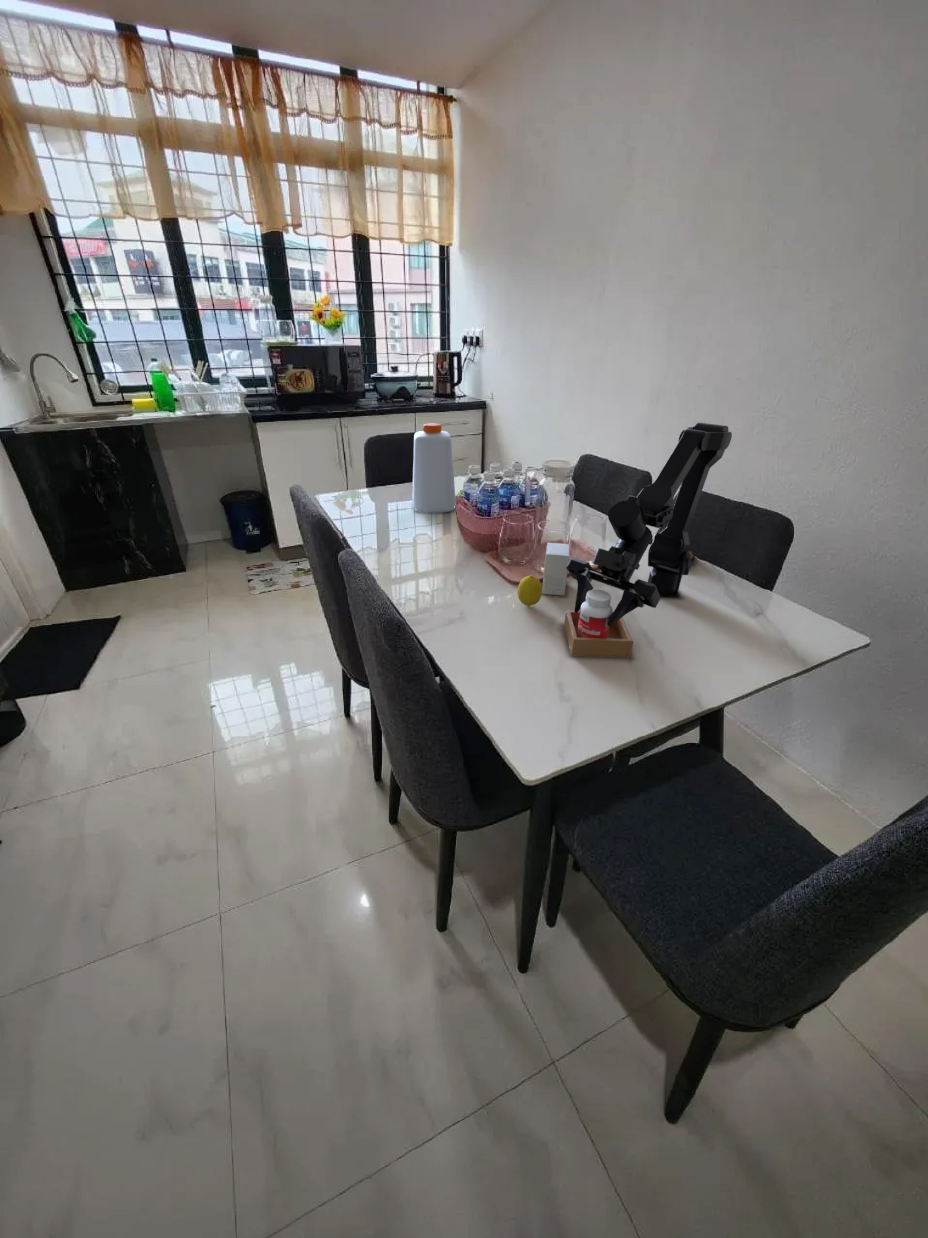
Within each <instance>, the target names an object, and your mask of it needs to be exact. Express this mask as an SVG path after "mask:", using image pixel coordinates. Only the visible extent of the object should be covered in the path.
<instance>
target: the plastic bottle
mask: <svg viewBox="0 0 928 1238" xmlns="http://www.w3.org/2000/svg"><path fill="white" fill-rule="evenodd" d="M452 440H453V439H452V437H451V435H450V433H449V432H448V431H446V430H442V424H441V423H437V422H428V423H424V424H423V425H422V430H419V431H416V432H415V433H414V435H413V462H412V463H413V464H412V465H413V466H412V499H411V500H412V509H413V510H414V511H415V512H418V513H423V514H430V513H431V514H434V513H450V512H452V511H454V510H455V509H456V507H455V508H454V506H455V501H456V489H455V488H456V487H455V474H454V473H455V471H454V457H453V443H452Z"/></svg>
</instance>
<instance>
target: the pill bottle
mask: <svg viewBox="0 0 928 1238" xmlns="http://www.w3.org/2000/svg"><path fill="white" fill-rule="evenodd" d="M611 599H612V595H611V593H609V592H608V591H606V590H602V589H592V590H590V591H588V592H587V595H586V601H585V602H583V603H582V605H581V609H580V610H579V611H580V615H579V622H578V628H577V634H576V635H577V637H580V638H607V637H608V632H609V627H610V626H608V625H607V623H608V621H609V619H610V617H611V615H612V612H613V607H612V606H611V601H612V600H611Z"/></svg>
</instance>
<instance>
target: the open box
mask: <svg viewBox="0 0 928 1238" xmlns="http://www.w3.org/2000/svg"><path fill="white" fill-rule="evenodd" d="M613 612H614V611H612V613H613ZM579 615H580V610H579V612H578V613H575V611H574V609H573V610H569V609H567V610H565V614H564V621H563V622H564V623H563V628H564V631H565V636H566V640H567V643H568V647H569V651H570V655H571V657H595V658H596V657H600V658H626V659H627V658H628V659H630V658H631V655H632V651H633V647H634V642H635V641H634V639H633V637H632V635H631V633H630V630H629V628H628V626H627V623H626V621H625V619H624V616H623V617H622V618H621V619H619V620H618V621H617V622H615V623H614V624H613V625H611V626H610V627H609V632H608V637H607V638H580V637H577V635H576V634H577V628H578V622H579Z"/></svg>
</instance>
